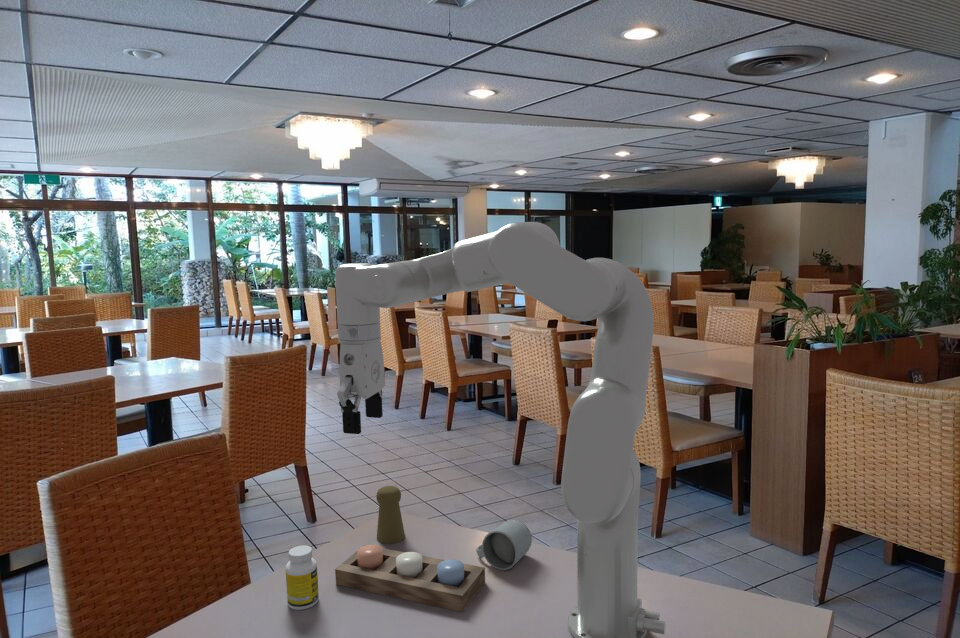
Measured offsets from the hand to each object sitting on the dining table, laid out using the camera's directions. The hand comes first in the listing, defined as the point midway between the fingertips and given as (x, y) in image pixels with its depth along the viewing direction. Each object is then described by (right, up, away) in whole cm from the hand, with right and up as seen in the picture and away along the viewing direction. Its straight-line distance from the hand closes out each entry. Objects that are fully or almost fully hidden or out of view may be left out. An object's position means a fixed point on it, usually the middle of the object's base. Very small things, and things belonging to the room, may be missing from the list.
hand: (363, 424), depth 121 cm
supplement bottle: (-10, -31, -3) cm, 33 cm away
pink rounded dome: (0, -28, +5) cm, 28 cm away
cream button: (+8, -28, +2) cm, 29 cm away
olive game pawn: (+2, -28, +21) cm, 35 cm away
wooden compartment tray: (+8, -30, +2) cm, 31 cm away
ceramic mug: (+26, -29, +10) cm, 40 cm away
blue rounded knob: (+16, -28, -2) cm, 32 cm away
